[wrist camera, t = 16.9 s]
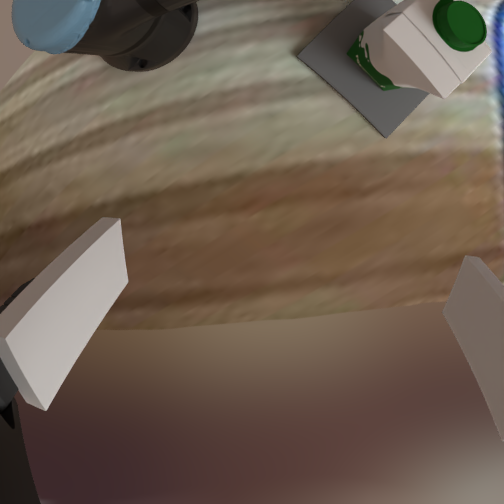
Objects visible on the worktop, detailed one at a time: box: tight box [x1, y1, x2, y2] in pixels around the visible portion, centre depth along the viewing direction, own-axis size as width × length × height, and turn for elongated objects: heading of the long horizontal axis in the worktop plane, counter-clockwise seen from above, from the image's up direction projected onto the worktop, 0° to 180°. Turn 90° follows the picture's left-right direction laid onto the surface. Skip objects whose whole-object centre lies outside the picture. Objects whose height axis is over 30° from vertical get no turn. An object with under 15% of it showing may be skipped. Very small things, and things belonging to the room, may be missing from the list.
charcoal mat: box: [297, 0, 429, 138], centre depth 34 cm, size 16×16×1 cm
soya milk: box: [346, 0, 492, 99], centre depth 25 cm, size 9×9×20 cm
